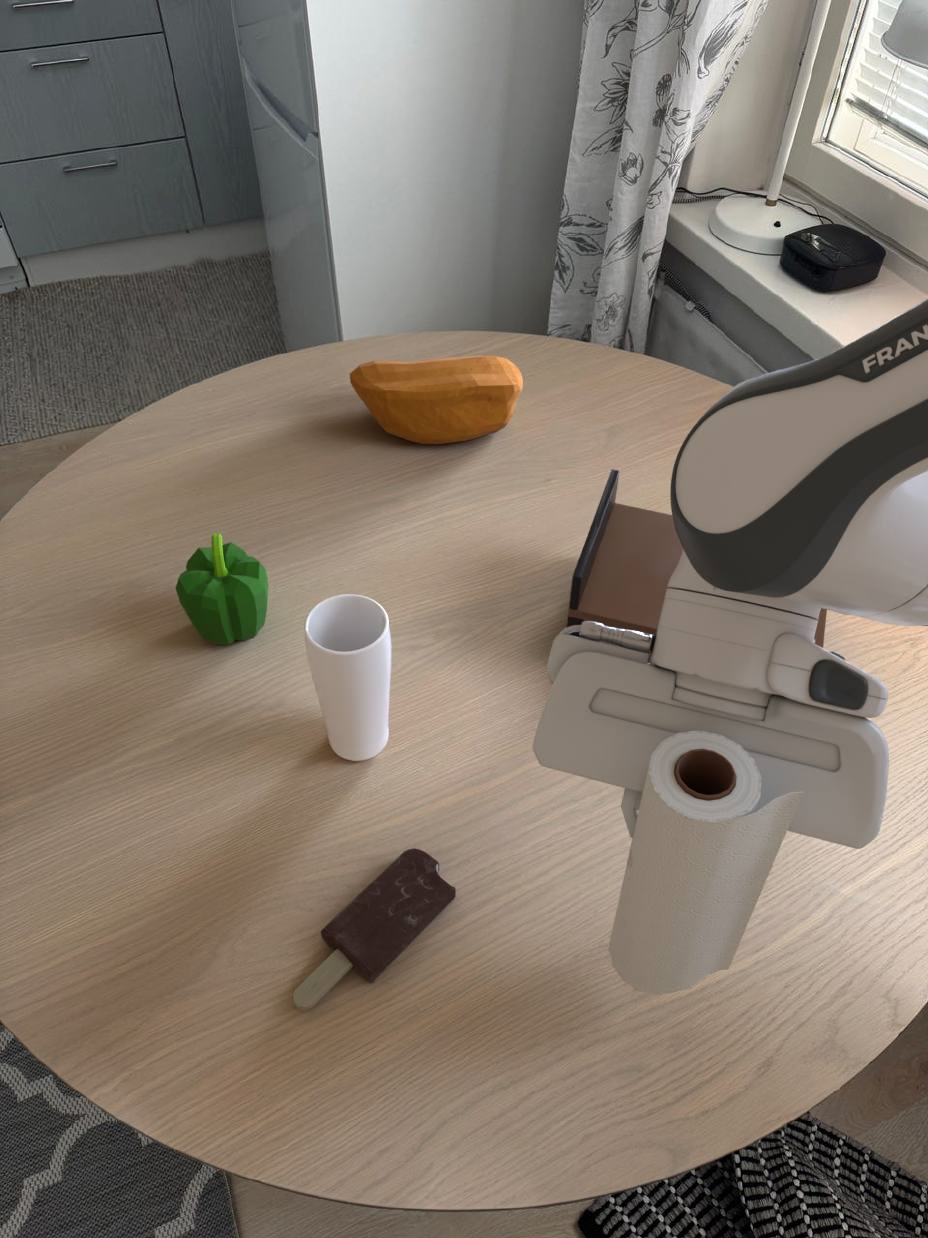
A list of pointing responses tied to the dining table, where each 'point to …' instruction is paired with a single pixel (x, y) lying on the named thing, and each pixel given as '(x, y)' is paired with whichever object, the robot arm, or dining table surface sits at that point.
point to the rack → (629, 568)
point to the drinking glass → (351, 672)
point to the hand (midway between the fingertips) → (676, 878)
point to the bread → (440, 396)
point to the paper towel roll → (694, 863)
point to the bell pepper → (224, 592)
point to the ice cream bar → (379, 923)
